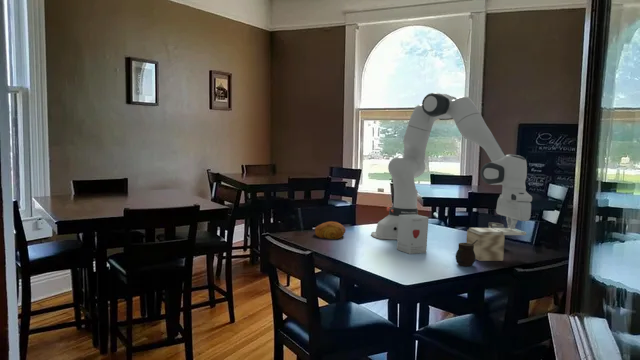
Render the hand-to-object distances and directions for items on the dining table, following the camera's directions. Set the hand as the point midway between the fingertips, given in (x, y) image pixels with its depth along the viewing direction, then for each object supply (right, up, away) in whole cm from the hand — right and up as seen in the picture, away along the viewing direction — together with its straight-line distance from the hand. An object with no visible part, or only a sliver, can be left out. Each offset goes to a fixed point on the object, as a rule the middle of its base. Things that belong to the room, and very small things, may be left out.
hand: (511, 228), depth 204 cm
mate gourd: (-23, -12, -16) cm, 31 cm away
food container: (+2, -10, +24) cm, 26 cm away
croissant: (-73, -7, +32) cm, 80 cm away
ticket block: (-11, -11, -1) cm, 16 cm away
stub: (-1, -2, 0) cm, 2 cm away
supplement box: (-40, -10, +5) cm, 41 cm away
